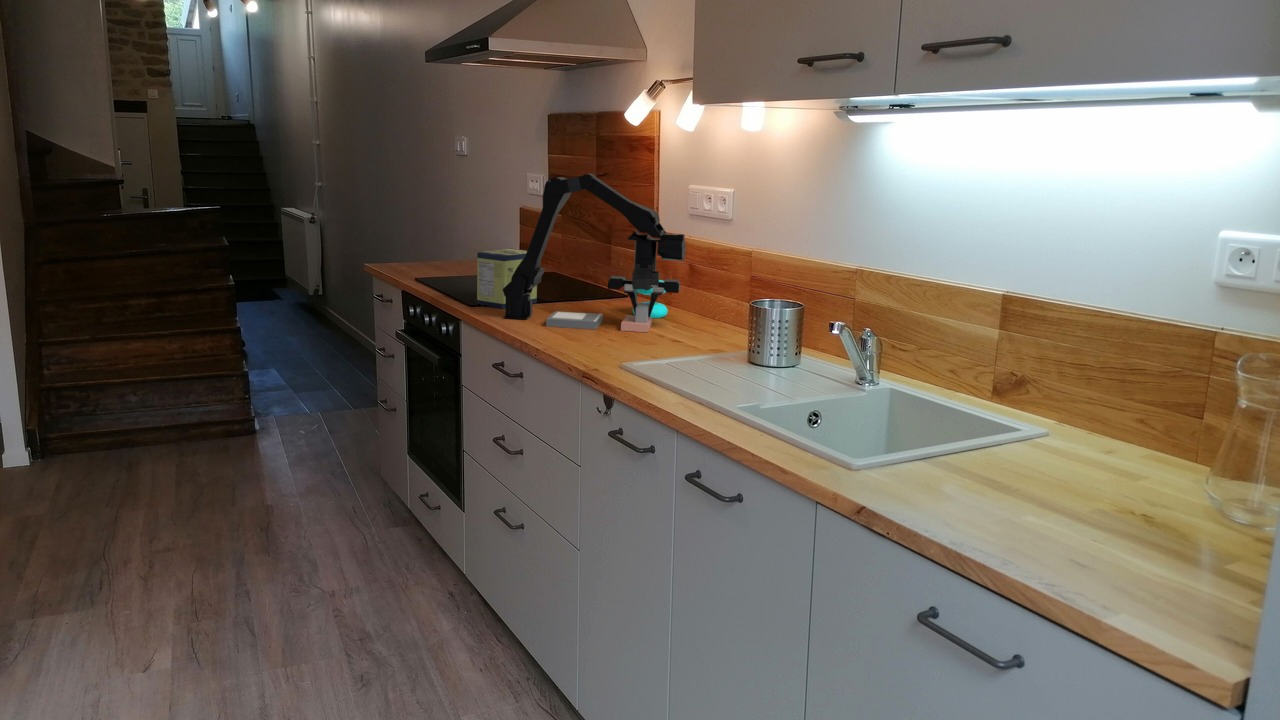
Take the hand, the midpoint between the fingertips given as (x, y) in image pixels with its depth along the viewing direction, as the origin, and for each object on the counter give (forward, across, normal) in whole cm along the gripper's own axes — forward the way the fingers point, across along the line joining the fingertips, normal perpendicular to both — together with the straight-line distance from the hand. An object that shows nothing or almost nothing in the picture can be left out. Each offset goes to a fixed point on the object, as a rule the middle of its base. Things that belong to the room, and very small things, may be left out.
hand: (642, 316), depth 248 cm
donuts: (+3, 0, +19) cm, 19 cm away
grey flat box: (+3, -18, 0) cm, 18 cm away
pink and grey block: (+3, -2, 0) cm, 3 cm away
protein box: (+3, -43, +24) cm, 49 cm away
